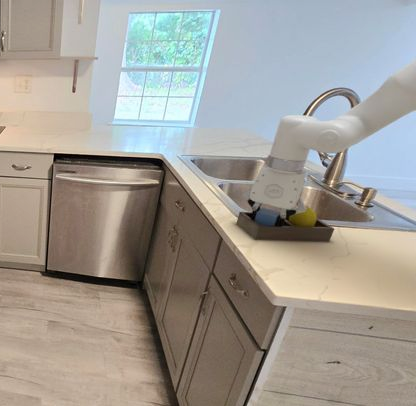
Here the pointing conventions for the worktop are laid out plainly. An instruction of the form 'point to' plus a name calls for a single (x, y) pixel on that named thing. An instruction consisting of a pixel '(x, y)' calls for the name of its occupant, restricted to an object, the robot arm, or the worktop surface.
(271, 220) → the blue block
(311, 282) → the worktop surface
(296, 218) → the lemon
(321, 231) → the tray
